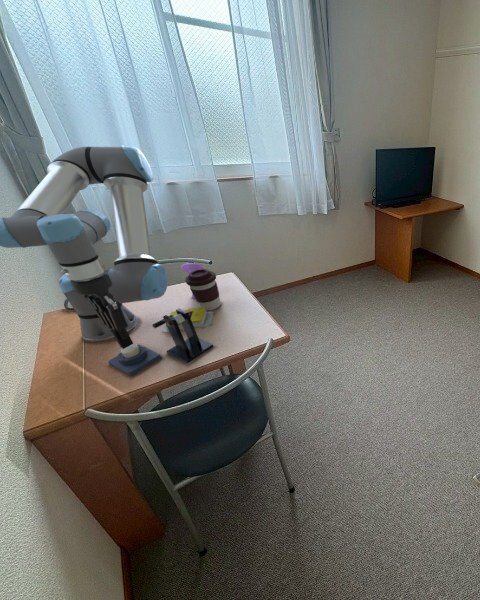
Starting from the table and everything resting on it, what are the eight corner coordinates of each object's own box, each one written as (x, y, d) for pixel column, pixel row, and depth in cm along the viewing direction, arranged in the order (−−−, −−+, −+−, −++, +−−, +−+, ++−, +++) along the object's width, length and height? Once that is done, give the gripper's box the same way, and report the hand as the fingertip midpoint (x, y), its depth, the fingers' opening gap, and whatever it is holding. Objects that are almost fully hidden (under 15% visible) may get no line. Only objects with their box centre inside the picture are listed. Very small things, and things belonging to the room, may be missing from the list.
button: (121, 355, 96) (117, 350, 95) (135, 348, 99) (132, 342, 98) (128, 359, 95) (125, 354, 94) (142, 351, 98) (140, 346, 97)
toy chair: (217, 286, 139) (207, 255, 131) (210, 297, 132) (199, 264, 124) (197, 287, 138) (186, 256, 130) (189, 298, 131) (176, 265, 123)
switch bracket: (167, 354, 102) (149, 317, 94) (194, 339, 109) (179, 303, 101) (188, 364, 98) (171, 326, 91) (214, 348, 105) (200, 311, 98)
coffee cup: (191, 307, 125) (178, 273, 117) (216, 297, 132) (205, 264, 124) (204, 316, 120) (192, 281, 112) (229, 305, 127) (219, 271, 119)
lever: (155, 329, 101) (150, 323, 100) (173, 320, 105) (169, 313, 104) (172, 327, 94) (167, 320, 93) (191, 317, 99) (186, 310, 98)
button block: (110, 365, 97) (104, 356, 95) (141, 348, 104) (136, 339, 102) (131, 377, 93) (126, 368, 91) (162, 359, 100) (157, 349, 98)
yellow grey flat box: (165, 309, 116) (210, 303, 120) (169, 319, 118) (214, 312, 123) (157, 323, 109) (206, 316, 113) (162, 334, 111) (210, 326, 115)
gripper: (57, 276, 82) (100, 346, 94) (84, 287, 77) (126, 360, 90) (91, 265, 88) (128, 332, 100) (118, 275, 83) (153, 344, 96)
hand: (127, 345), depth 95 cm, fingers closed
